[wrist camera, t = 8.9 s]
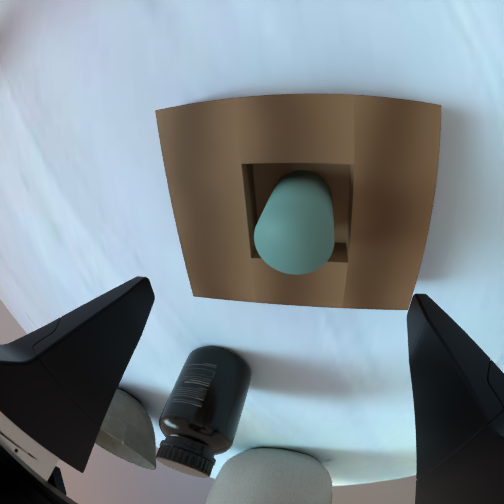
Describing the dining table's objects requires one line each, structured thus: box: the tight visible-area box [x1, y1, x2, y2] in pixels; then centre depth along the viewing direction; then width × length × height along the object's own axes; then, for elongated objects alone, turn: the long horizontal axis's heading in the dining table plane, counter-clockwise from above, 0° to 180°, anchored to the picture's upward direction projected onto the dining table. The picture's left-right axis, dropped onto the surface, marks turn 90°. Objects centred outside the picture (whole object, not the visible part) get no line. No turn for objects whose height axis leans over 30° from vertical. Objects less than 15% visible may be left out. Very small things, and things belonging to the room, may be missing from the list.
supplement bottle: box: [156, 347, 251, 478], centre depth 23 cm, size 7×7×12 cm
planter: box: [205, 448, 332, 504], centre depth 34 cm, size 21×21×19 cm
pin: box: [254, 170, 334, 275], centre depth 14 cm, size 3×3×5 cm
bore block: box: [155, 94, 441, 310], centre depth 16 cm, size 14×12×3 cm
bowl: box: [95, 388, 156, 470], centre depth 37 cm, size 19×19×10 cm
